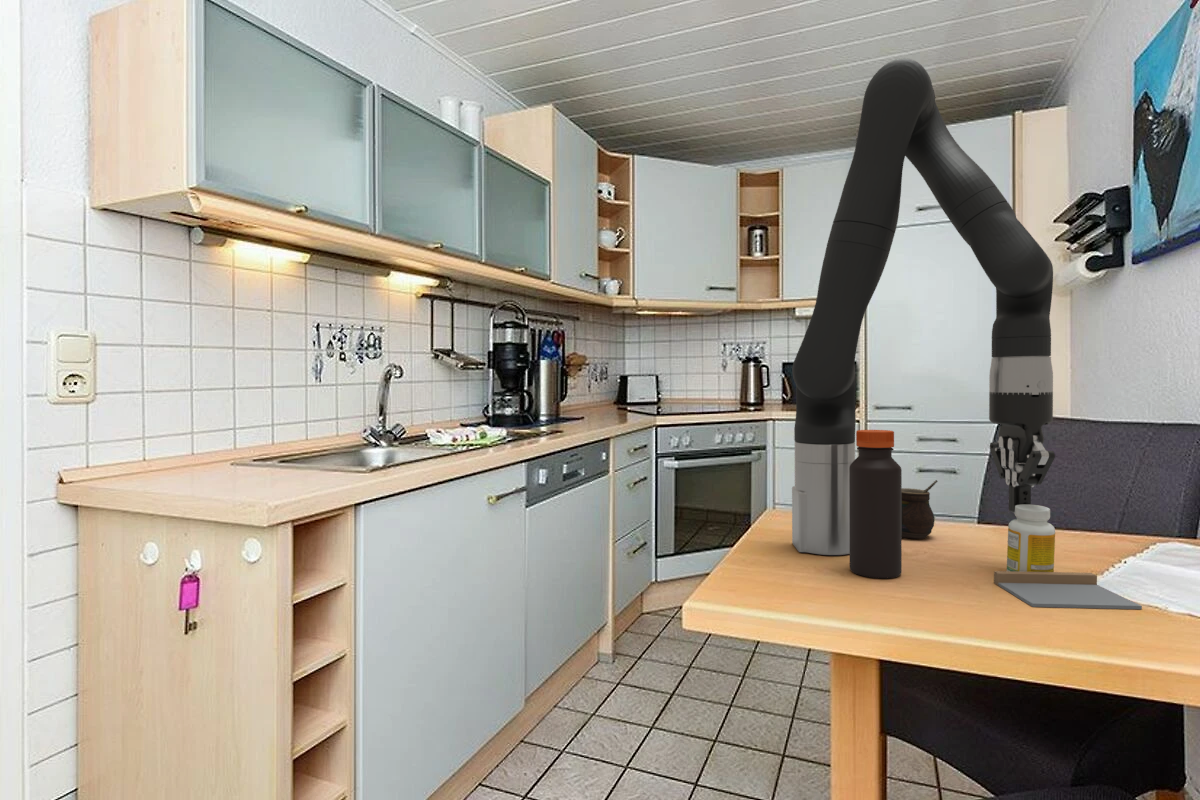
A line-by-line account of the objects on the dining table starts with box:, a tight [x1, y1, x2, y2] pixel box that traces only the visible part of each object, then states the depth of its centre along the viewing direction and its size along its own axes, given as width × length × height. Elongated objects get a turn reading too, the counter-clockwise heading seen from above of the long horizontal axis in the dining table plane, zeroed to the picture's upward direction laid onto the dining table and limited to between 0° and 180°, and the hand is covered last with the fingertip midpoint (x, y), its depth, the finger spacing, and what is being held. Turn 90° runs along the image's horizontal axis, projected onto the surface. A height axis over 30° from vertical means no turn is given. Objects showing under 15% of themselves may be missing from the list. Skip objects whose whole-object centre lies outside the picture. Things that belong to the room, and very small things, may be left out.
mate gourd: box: [902, 479, 938, 540], centre depth 115 cm, size 7×8×10 cm
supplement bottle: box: [1006, 504, 1056, 572], centre depth 90 cm, size 5×5×10 cm
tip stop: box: [993, 570, 1143, 610], centre depth 82 cm, size 12×9×2 cm
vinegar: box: [849, 429, 903, 580], centre depth 93 cm, size 7×7×20 cm
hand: (1019, 512), depth 93 cm, fingers closed
